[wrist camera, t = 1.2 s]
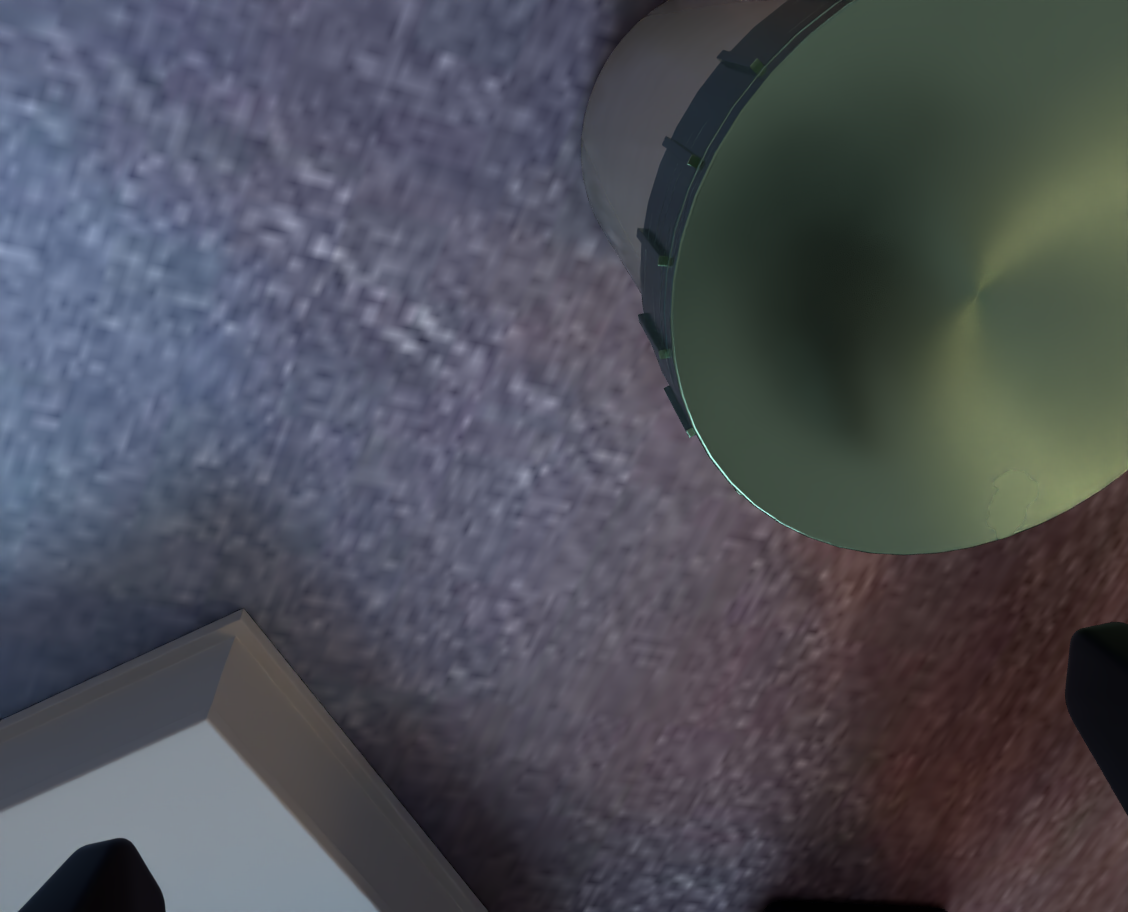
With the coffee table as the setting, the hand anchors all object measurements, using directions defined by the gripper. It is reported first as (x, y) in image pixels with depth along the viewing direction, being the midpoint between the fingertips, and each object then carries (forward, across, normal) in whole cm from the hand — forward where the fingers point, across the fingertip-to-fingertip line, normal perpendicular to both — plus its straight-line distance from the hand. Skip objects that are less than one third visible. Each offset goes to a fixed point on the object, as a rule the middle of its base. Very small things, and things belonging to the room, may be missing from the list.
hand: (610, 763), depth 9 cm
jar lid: (+3, -5, -3) cm, 6 cm away
